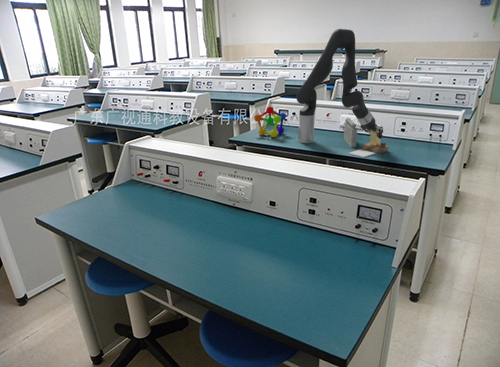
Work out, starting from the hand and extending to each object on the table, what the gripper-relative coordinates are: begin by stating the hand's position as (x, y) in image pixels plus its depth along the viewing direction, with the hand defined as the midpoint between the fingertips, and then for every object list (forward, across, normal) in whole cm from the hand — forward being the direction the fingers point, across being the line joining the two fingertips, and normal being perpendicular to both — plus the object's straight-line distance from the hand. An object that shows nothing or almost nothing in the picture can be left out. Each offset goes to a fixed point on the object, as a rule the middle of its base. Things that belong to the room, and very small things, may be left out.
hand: (377, 136), depth 205 cm
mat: (-4, 0, +14) cm, 15 cm away
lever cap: (+2, 0, +5) cm, 5 cm away
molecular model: (-10, +70, +21) cm, 74 cm away
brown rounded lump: (+4, 0, +7) cm, 8 cm away
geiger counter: (+6, +22, +5) cm, 23 cm away
